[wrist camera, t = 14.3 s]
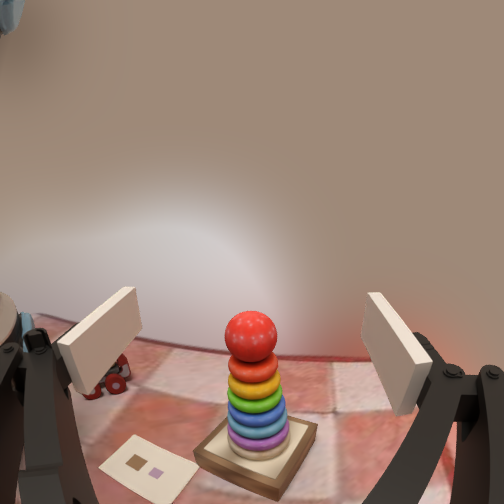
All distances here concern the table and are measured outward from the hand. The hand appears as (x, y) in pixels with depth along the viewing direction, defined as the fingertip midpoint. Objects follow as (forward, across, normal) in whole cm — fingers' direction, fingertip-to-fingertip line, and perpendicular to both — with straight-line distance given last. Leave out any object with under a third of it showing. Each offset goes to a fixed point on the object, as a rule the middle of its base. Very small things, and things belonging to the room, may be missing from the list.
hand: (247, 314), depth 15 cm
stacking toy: (+10, 0, -24) cm, 26 cm away
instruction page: (+4, -15, -28) cm, 32 cm away
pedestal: (+10, 0, -28) cm, 30 cm away
